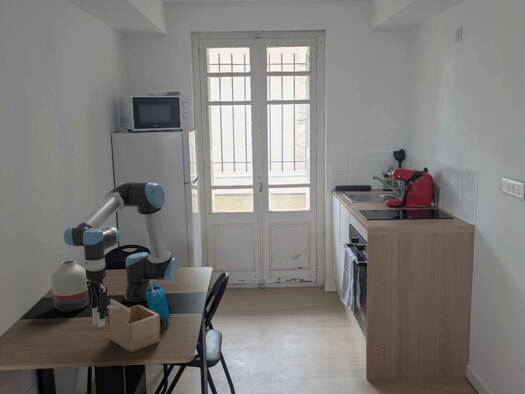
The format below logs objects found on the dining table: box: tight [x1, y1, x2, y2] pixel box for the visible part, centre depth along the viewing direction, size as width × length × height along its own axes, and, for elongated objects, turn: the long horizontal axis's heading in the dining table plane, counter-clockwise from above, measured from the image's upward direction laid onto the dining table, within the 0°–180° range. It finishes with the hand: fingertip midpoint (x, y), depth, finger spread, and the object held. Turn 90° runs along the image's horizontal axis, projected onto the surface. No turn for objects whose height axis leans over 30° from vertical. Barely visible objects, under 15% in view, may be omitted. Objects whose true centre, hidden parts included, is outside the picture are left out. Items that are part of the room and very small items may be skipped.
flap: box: [97, 298, 131, 324], centre depth 208 cm, size 16×7×10 cm
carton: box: [108, 304, 161, 353], centre depth 218 cm, size 17×15×12 cm
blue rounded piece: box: [146, 280, 171, 327], centre depth 236 cm, size 17×10×20 cm, turn 15°
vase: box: [51, 259, 89, 313], centre depth 254 cm, size 17×17×24 cm
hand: (99, 324), depth 206 cm, fingers closed on flap, 4 cm apart
